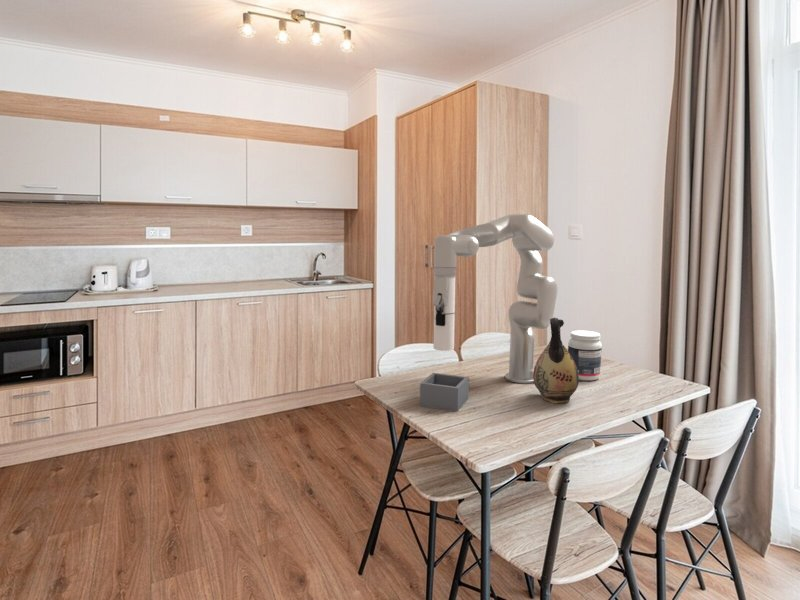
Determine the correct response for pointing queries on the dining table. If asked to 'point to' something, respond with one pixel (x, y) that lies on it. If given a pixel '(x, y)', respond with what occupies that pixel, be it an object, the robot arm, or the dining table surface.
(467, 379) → the square well
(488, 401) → the dining table surface
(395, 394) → the dining table surface
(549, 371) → the ceramic jug
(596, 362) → the supplement tub
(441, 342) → the cylindrical container
